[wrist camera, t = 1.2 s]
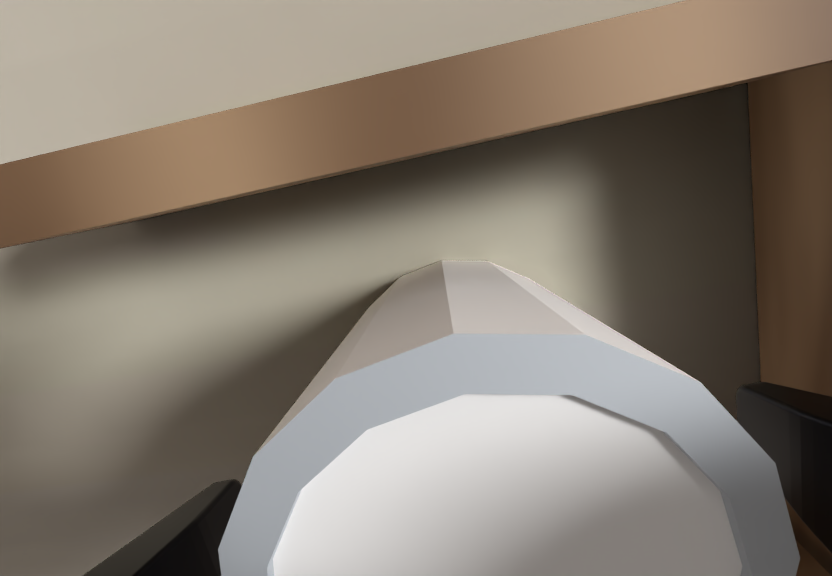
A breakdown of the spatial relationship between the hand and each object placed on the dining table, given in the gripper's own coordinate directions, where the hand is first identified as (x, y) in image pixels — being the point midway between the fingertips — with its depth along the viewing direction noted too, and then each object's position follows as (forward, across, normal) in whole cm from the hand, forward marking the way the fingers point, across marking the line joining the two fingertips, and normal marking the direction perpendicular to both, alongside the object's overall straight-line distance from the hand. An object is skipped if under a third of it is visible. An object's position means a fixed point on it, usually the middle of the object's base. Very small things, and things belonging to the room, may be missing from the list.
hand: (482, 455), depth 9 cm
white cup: (+4, 0, 0) cm, 4 cm away
